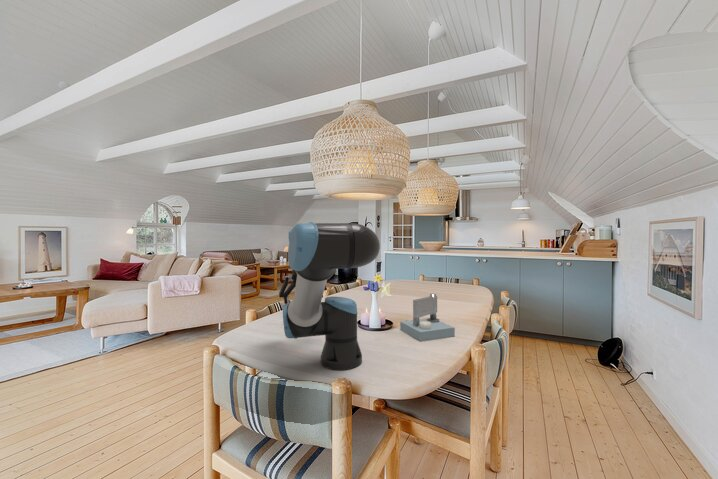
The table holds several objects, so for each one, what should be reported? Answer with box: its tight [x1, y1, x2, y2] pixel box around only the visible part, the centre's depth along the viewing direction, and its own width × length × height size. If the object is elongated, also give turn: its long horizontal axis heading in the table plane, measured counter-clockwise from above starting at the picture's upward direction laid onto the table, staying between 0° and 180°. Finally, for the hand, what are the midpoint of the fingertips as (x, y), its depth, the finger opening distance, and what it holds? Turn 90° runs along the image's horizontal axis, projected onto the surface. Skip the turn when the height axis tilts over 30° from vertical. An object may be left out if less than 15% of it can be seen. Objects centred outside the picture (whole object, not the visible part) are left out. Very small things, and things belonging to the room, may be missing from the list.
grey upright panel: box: [412, 293, 438, 326], centre depth 147 cm, size 3×16×12 cm, turn 131°
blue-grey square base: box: [399, 317, 456, 342], centre depth 145 cm, size 18×18×5 cm
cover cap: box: [420, 321, 431, 329], centre depth 140 cm, size 5×5×2 cm
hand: (304, 306), depth 137 cm, fingers open, 13 cm apart
